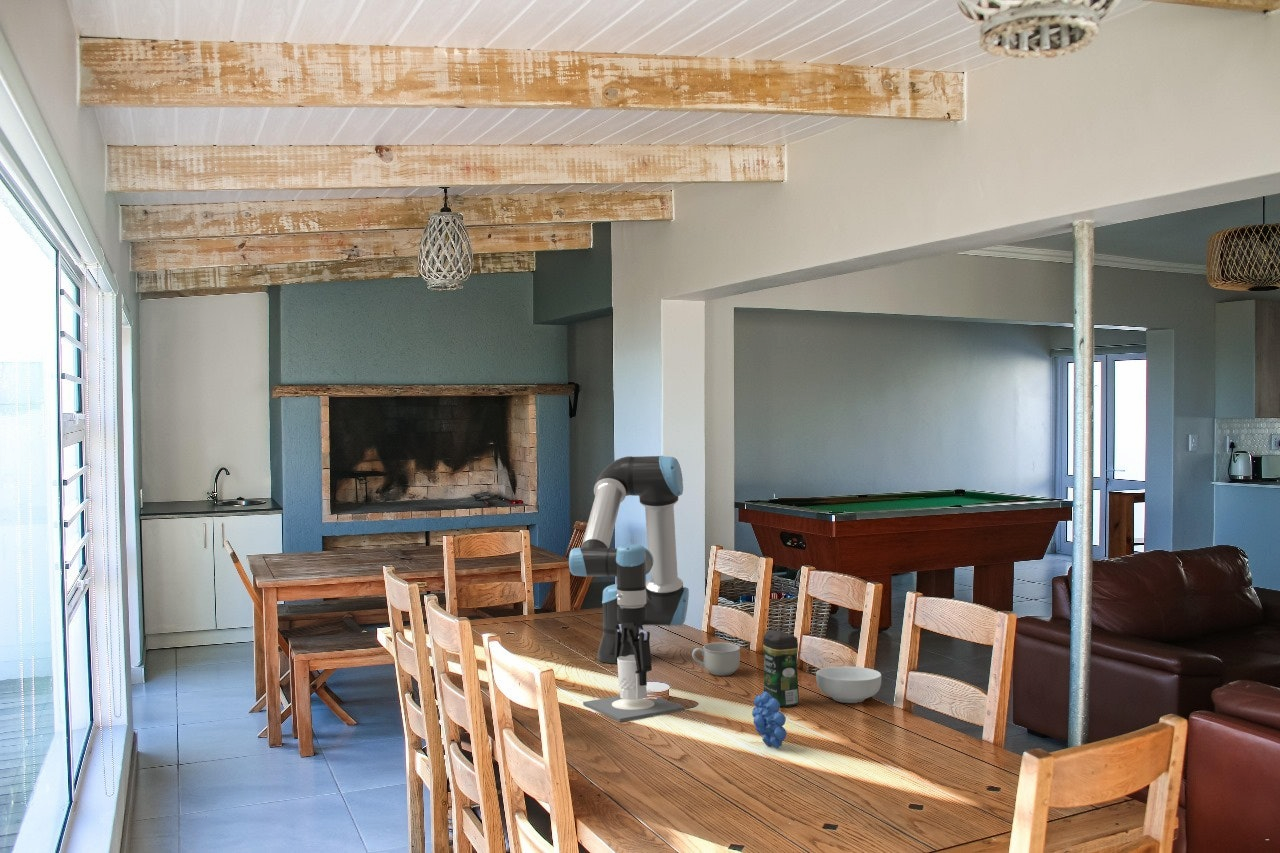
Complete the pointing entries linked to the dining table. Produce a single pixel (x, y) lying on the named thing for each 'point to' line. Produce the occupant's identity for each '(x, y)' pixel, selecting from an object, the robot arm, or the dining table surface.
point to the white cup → (627, 677)
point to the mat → (632, 707)
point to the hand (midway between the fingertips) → (633, 694)
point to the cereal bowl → (848, 683)
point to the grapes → (769, 720)
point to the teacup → (719, 658)
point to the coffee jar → (781, 667)
